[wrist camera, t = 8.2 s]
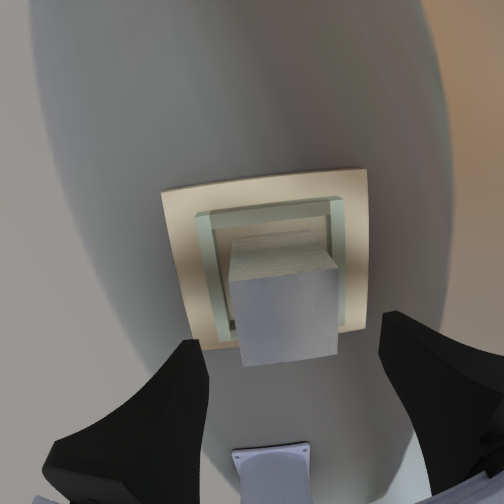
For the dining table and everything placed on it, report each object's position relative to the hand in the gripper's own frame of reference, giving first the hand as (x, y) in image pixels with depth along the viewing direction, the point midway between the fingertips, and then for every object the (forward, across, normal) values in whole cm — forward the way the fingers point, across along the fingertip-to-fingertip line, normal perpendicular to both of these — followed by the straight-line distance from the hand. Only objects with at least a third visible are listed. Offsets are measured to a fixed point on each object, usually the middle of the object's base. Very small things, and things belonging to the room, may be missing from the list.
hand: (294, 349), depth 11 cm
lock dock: (+9, 0, 0) cm, 9 cm away
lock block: (+8, 0, 0) cm, 8 cm away
